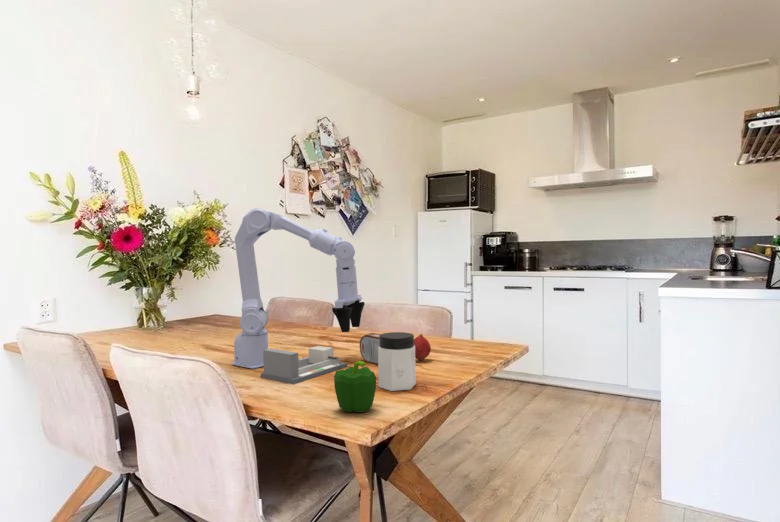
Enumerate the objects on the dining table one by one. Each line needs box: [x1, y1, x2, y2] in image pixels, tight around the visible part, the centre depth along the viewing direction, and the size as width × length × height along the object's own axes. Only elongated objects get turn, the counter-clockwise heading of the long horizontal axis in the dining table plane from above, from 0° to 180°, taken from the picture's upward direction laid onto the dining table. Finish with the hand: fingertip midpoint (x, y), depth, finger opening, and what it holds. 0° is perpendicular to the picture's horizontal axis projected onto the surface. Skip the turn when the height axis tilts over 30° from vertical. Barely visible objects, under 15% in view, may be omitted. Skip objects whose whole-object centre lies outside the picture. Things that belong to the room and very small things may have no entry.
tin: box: [359, 332, 382, 366], centre depth 130 cm, size 15×3×8 cm, turn 45°
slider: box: [308, 345, 338, 364], centre depth 127 cm, size 9×4×4 cm, turn 55°
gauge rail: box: [260, 348, 348, 385], centre depth 123 cm, size 12×20×7 cm, turn 145°
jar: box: [377, 331, 417, 392], centre depth 109 cm, size 9×8×12 cm
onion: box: [414, 333, 432, 362], centre depth 133 cm, size 6×6×8 cm
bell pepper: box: [333, 360, 377, 413], centre depth 93 cm, size 8×8×10 cm
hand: (350, 329), depth 134 cm, fingers open, 7 cm apart
